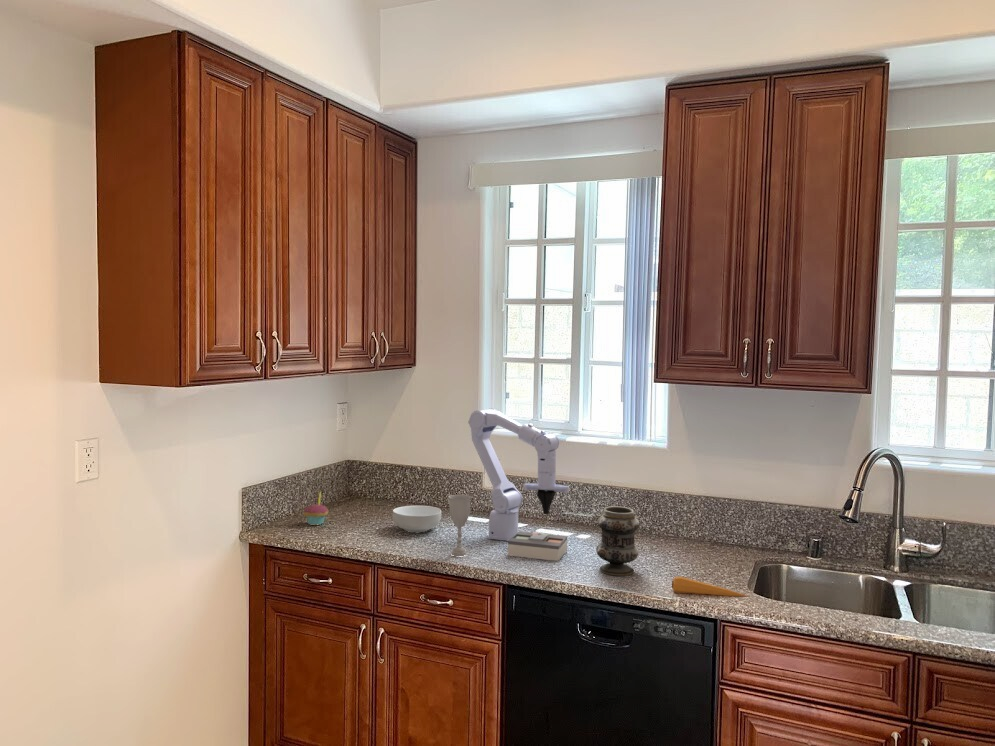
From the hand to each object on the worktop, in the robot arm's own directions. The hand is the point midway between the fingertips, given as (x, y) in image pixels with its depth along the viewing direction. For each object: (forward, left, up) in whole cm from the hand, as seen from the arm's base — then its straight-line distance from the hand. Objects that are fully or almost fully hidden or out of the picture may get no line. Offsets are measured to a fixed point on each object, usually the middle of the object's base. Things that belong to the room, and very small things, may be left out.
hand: (546, 513), depth 237 cm
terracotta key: (+5, -9, -9) cm, 13 cm away
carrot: (+52, -29, -11) cm, 60 cm away
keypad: (0, -9, -10) cm, 14 cm away
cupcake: (-82, -4, -11) cm, 83 cm away
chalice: (-22, -20, -11) cm, 32 cm away
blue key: (0, -9, -8) cm, 12 cm away
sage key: (-6, -9, -9) cm, 14 cm away
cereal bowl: (-46, +2, -11) cm, 48 cm away
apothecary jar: (+26, -18, -11) cm, 33 cm away
